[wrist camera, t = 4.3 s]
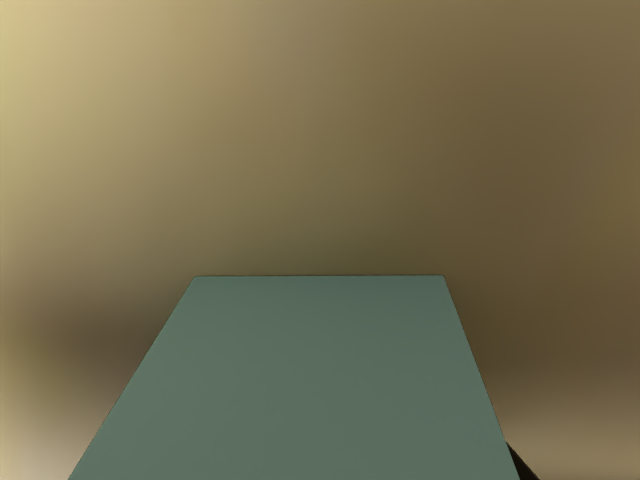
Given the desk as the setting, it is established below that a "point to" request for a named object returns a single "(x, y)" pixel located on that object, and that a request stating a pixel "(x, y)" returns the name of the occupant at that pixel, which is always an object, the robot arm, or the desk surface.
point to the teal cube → (305, 387)
